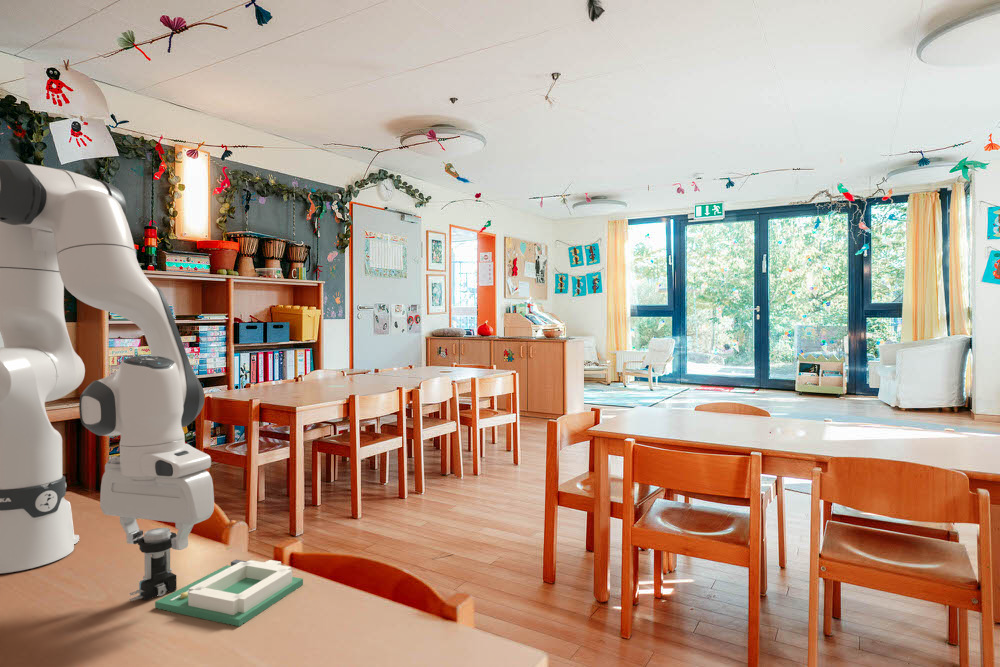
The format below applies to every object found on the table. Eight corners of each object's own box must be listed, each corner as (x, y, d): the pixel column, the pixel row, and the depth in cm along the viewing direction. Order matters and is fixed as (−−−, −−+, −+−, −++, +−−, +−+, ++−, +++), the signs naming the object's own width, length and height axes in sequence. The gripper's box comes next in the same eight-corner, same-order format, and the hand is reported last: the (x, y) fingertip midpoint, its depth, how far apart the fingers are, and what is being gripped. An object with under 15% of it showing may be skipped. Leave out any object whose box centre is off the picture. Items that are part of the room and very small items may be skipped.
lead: (230, 568, 101) (230, 562, 101) (235, 566, 102) (235, 559, 102) (277, 577, 98) (277, 570, 98) (281, 574, 99) (282, 567, 99)
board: (155, 608, 87) (155, 588, 87) (228, 569, 101) (228, 552, 101) (239, 626, 82) (239, 605, 82) (304, 583, 95) (304, 565, 95)
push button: (138, 608, 87) (137, 543, 87) (122, 598, 90) (122, 535, 90) (183, 592, 92) (182, 530, 92) (167, 583, 95) (166, 523, 95)
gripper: (86, 460, 91) (90, 546, 91) (186, 467, 84) (189, 560, 85) (124, 451, 97) (127, 532, 97) (219, 457, 90) (222, 544, 91)
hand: (157, 545), depth 91 cm, fingers open, 8 cm apart
